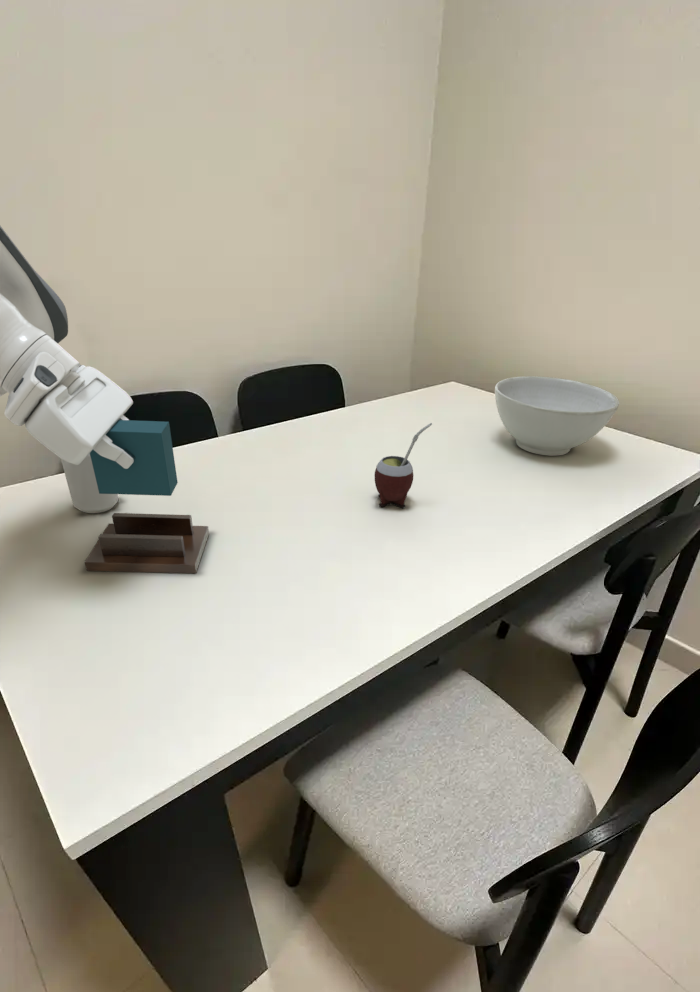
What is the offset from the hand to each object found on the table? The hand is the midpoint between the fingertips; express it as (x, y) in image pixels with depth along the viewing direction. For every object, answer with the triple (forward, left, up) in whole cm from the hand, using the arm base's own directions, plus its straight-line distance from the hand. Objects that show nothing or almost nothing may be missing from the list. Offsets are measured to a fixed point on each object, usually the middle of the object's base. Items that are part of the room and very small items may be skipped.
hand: (137, 455), depth 81 cm
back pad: (-1, 0, -5) cm, 5 cm away
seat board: (-1, +1, -16) cm, 16 cm away
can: (-14, +16, -16) cm, 26 cm away
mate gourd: (+39, +21, -16) cm, 47 cm away
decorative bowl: (+77, +53, -16) cm, 95 cm away
